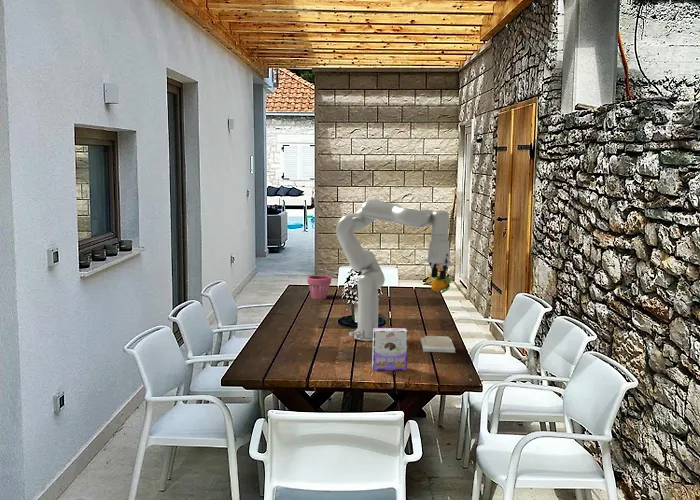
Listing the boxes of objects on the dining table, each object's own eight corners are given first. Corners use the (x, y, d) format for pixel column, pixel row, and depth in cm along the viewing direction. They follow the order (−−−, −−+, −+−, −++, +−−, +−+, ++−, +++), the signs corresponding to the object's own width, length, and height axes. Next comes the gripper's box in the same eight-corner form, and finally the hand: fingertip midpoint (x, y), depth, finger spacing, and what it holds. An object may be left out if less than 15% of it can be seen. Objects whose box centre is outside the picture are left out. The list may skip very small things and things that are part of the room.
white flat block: (455, 352, 334) (455, 344, 334) (423, 351, 335) (423, 343, 334) (450, 341, 354) (450, 334, 354) (420, 340, 354) (421, 333, 354)
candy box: (405, 367, 309) (406, 327, 307) (406, 371, 303) (408, 331, 301) (371, 366, 309) (372, 327, 307) (372, 370, 303) (373, 330, 301)
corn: (452, 272, 350) (442, 279, 331) (453, 289, 350) (443, 296, 332) (437, 272, 352) (426, 279, 334) (437, 289, 353) (426, 296, 334)
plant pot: (317, 301, 447) (317, 279, 445) (302, 297, 457) (302, 276, 455) (335, 298, 456) (335, 277, 455) (320, 294, 466) (320, 274, 465)
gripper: (420, 236, 344) (419, 276, 346) (447, 240, 331) (445, 281, 333) (433, 236, 349) (431, 275, 351) (459, 239, 335) (457, 280, 337)
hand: (438, 277), depth 342 cm, fingers closed on corn, 4 cm apart
